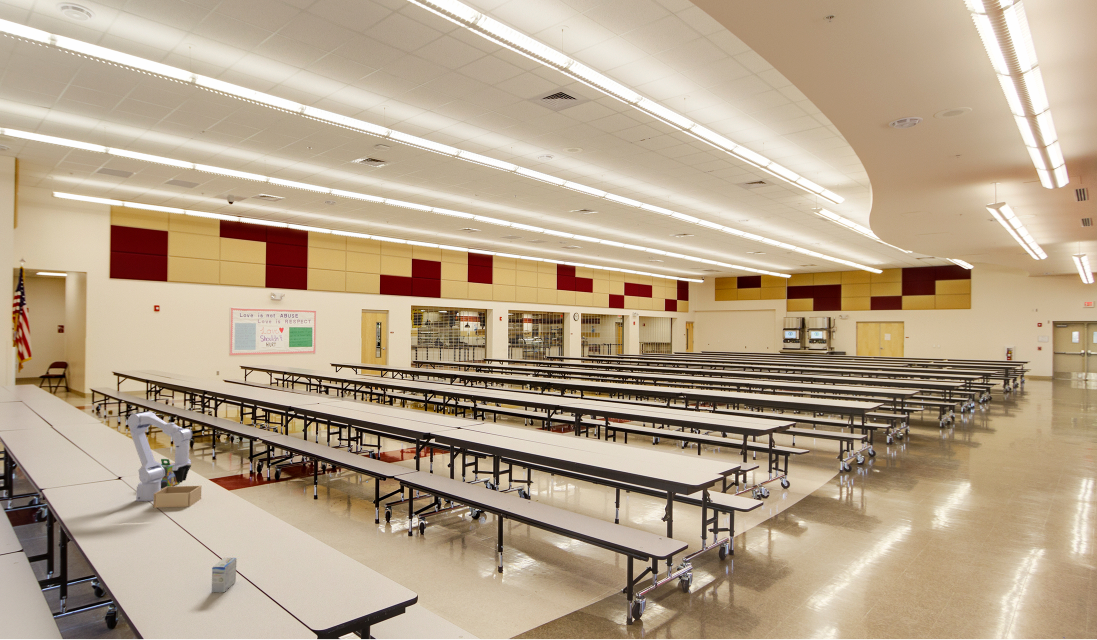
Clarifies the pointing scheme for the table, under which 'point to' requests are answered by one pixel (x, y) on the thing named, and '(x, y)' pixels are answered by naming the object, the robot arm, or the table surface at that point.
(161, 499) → the flap
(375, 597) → the table surface
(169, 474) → the chalk box
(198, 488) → the carton
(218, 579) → the medicine box
